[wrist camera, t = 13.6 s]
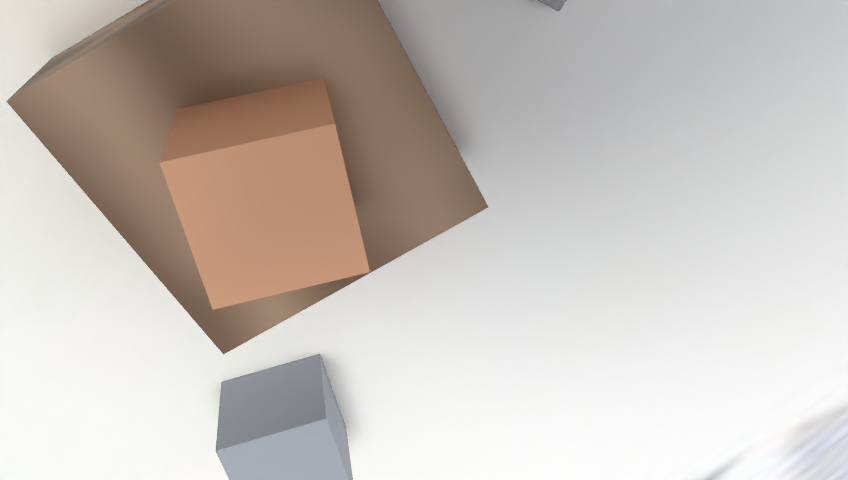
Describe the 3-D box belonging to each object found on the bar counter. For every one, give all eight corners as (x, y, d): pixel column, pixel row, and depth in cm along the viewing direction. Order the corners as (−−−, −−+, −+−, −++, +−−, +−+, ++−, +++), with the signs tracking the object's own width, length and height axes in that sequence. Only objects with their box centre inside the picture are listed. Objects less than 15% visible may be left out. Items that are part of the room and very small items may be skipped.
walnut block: (317, -102, 29) (328, -91, 24) (455, 152, 35) (488, 207, 29) (53, 57, 30) (6, 101, 24) (230, 279, 35) (223, 354, 30)
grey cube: (319, 352, 38) (326, 418, 34) (345, 426, 40) (355, 496, 36) (221, 381, 38) (215, 450, 33) (253, 453, 40) (252, 527, 36)
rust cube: (323, 77, 26) (334, 123, 22) (354, 207, 28) (370, 272, 24) (177, 109, 26) (159, 162, 21) (221, 238, 28) (212, 309, 24)
